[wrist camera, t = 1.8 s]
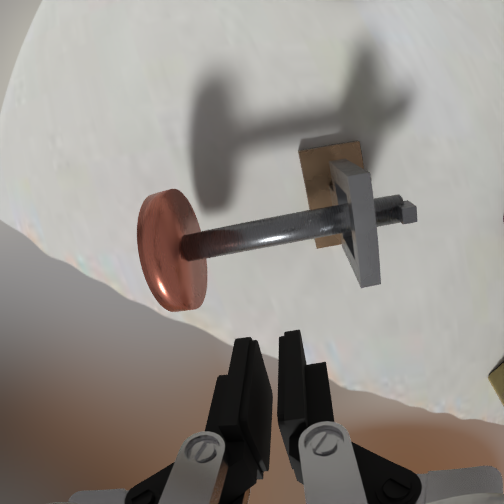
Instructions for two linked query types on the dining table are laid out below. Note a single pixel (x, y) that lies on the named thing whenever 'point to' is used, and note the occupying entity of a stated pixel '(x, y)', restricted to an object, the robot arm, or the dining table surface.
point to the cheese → (498, 381)
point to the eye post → (341, 192)
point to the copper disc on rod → (228, 240)
